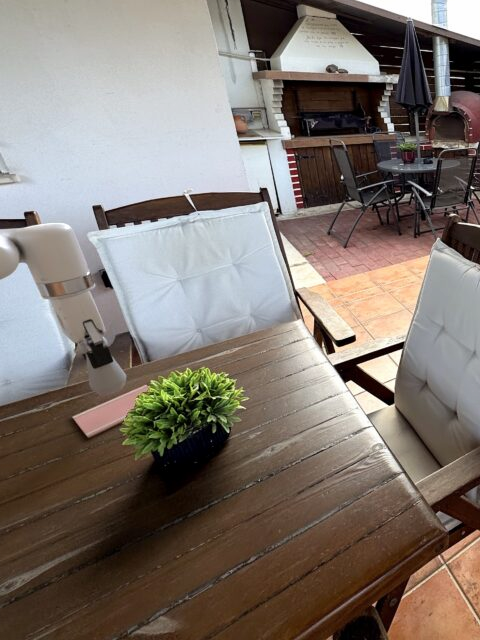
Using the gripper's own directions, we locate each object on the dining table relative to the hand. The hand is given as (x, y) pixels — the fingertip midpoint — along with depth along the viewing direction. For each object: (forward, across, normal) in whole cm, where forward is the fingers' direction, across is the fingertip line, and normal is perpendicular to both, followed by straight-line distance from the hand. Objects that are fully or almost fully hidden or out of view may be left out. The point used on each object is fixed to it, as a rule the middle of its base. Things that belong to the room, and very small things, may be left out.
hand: (99, 360), depth 86 cm
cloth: (+13, 0, 0) cm, 13 cm away
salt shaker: (+8, 0, 0) cm, 8 cm away
